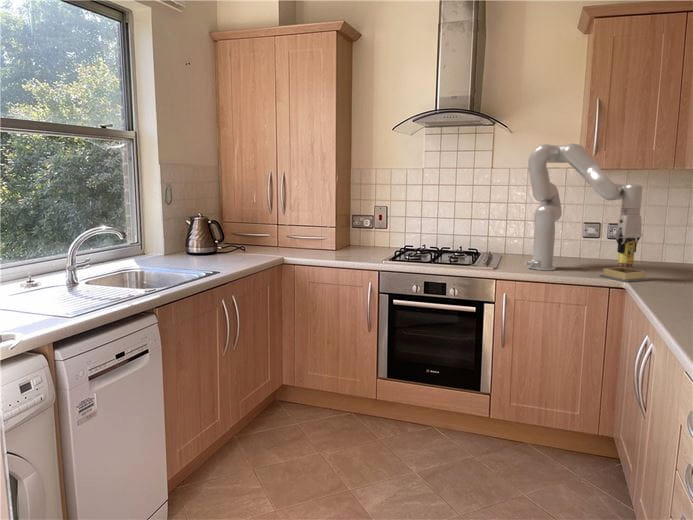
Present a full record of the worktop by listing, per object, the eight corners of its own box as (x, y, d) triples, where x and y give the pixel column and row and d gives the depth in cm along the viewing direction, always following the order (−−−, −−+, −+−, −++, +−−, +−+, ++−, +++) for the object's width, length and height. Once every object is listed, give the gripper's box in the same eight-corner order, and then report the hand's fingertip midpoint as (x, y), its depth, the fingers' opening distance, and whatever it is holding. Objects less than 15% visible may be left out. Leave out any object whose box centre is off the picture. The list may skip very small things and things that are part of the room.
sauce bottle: (628, 268, 232) (632, 223, 228) (614, 266, 237) (618, 222, 233) (635, 266, 236) (640, 222, 232) (621, 264, 241) (625, 221, 237)
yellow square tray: (625, 282, 228) (626, 273, 228) (599, 276, 241) (600, 268, 240) (648, 280, 233) (649, 272, 233) (622, 274, 246) (622, 266, 245)
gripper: (623, 213, 226) (619, 254, 229) (652, 212, 232) (647, 252, 235) (608, 212, 233) (605, 252, 236) (637, 211, 239) (633, 250, 242)
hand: (626, 251), depth 235 cm, fingers closed on sauce bottle, 6 cm apart
